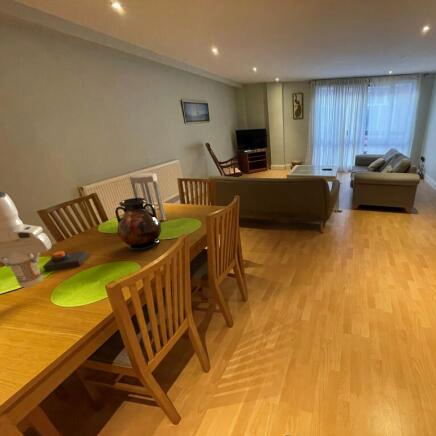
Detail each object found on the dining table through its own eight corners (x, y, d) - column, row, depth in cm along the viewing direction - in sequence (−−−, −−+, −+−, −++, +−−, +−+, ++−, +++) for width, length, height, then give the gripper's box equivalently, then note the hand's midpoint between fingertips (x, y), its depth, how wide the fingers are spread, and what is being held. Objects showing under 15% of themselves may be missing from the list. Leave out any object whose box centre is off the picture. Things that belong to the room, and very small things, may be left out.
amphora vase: (165, 234, 156) (156, 193, 146) (163, 250, 138) (152, 203, 127) (127, 240, 148) (114, 197, 138) (119, 257, 130) (103, 209, 119)
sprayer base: (45, 271, 118) (41, 263, 116) (56, 260, 128) (53, 252, 126) (80, 266, 123) (76, 257, 121) (88, 255, 132) (85, 247, 130)
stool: (150, 218, 184) (139, 172, 170) (170, 218, 183) (160, 172, 170) (137, 226, 169) (124, 177, 156) (158, 226, 169) (147, 177, 155)
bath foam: (38, 286, 98) (18, 242, 91) (16, 289, 96) (-7, 245, 89) (47, 276, 104) (29, 235, 97) (26, 279, 102) (6, 237, 95)
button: (53, 258, 120) (51, 255, 120) (57, 255, 124) (55, 251, 123) (63, 257, 122) (61, 253, 121) (66, 253, 125) (65, 250, 124)
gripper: (-36, 240, 86) (-17, 273, 91) (37, 232, 92) (51, 263, 97) (-22, 233, 91) (-5, 264, 96) (46, 226, 98) (58, 255, 103)
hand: (23, 263), depth 97 cm, fingers closed on bath foam, 7 cm apart
